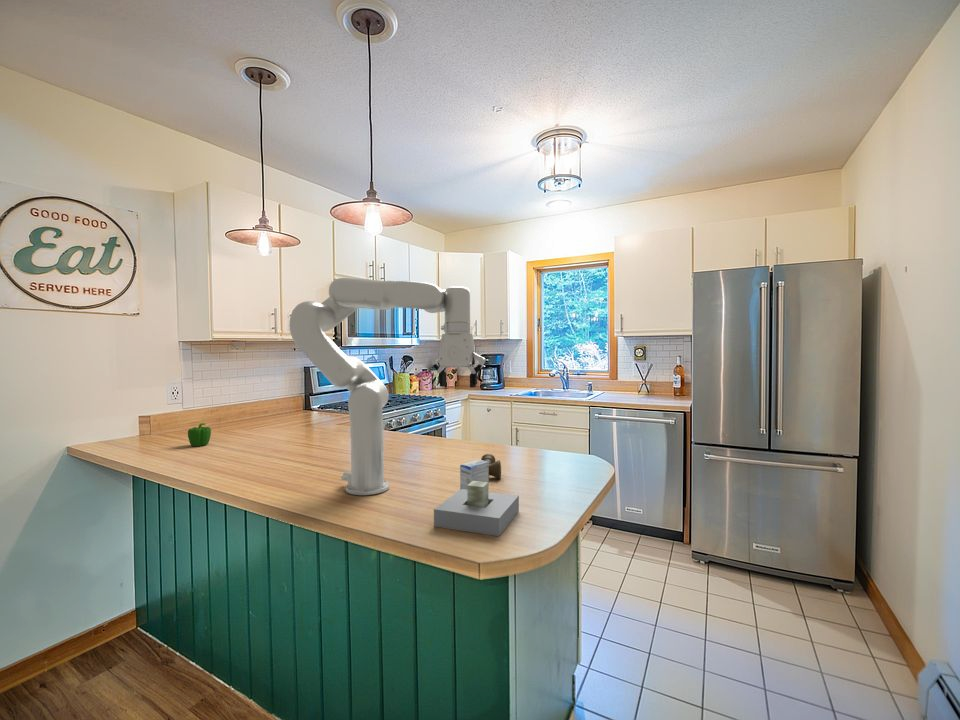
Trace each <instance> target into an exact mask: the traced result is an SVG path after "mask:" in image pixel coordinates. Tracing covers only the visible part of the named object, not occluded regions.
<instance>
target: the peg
mask: <svg viewBox="0 0 960 720" xmlns="http://www.w3.org/2000/svg"><path fill="white" fill-rule="evenodd" d="M488 492H489V490H488V482H481V481H472V482H471V483H470V484H468V485H467V505H468V506H476V507H483V508H486V507H487V506H488Z"/></svg>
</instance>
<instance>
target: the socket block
mask: <svg viewBox="0 0 960 720" xmlns="http://www.w3.org/2000/svg"><path fill="white" fill-rule="evenodd" d="M519 498H520V495H515V494H508V493H501V492H491V491H488V506H487V507H486V508H483V507H476V506H468V505H467V490H466V489H460V488H459V490H458V491H456V492H454V494H453V495H451V496H450V497H448V498H447V499H445V500H444V501H443V502H441V504H439V505H438V506H436V507H434V509H433V526H434V527H437V528H444V529H451V530H457V531H464V532H469V533H476V534H483V535H489V536H496V537H500V536H501V534H502V533H503V532H504V531H505V529H506V528H508V526H509V525H510V523H511V522H512V521H513V520H514V518H515V517H516V516H517V514H518V513H519V512H520V504H519V503H520V501H519V500H520V499H519Z"/></svg>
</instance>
